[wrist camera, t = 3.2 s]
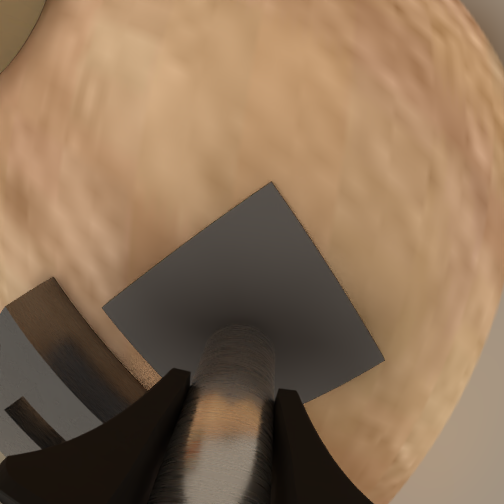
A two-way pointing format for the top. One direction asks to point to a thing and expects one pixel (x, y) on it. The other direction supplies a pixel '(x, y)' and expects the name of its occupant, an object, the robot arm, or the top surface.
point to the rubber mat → (249, 300)
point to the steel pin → (224, 425)
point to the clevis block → (55, 373)
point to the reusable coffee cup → (16, 26)
